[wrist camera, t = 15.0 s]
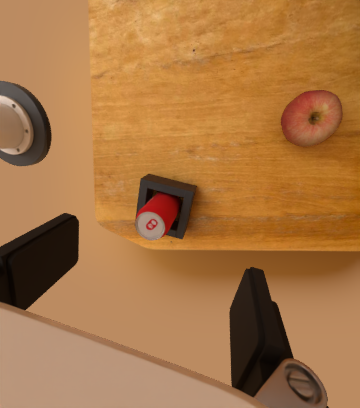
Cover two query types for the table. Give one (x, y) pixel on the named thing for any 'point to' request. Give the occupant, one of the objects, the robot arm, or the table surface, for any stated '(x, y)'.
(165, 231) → the beverage can
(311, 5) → the table surface
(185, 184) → the frame
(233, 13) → the table surface
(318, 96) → the apple
